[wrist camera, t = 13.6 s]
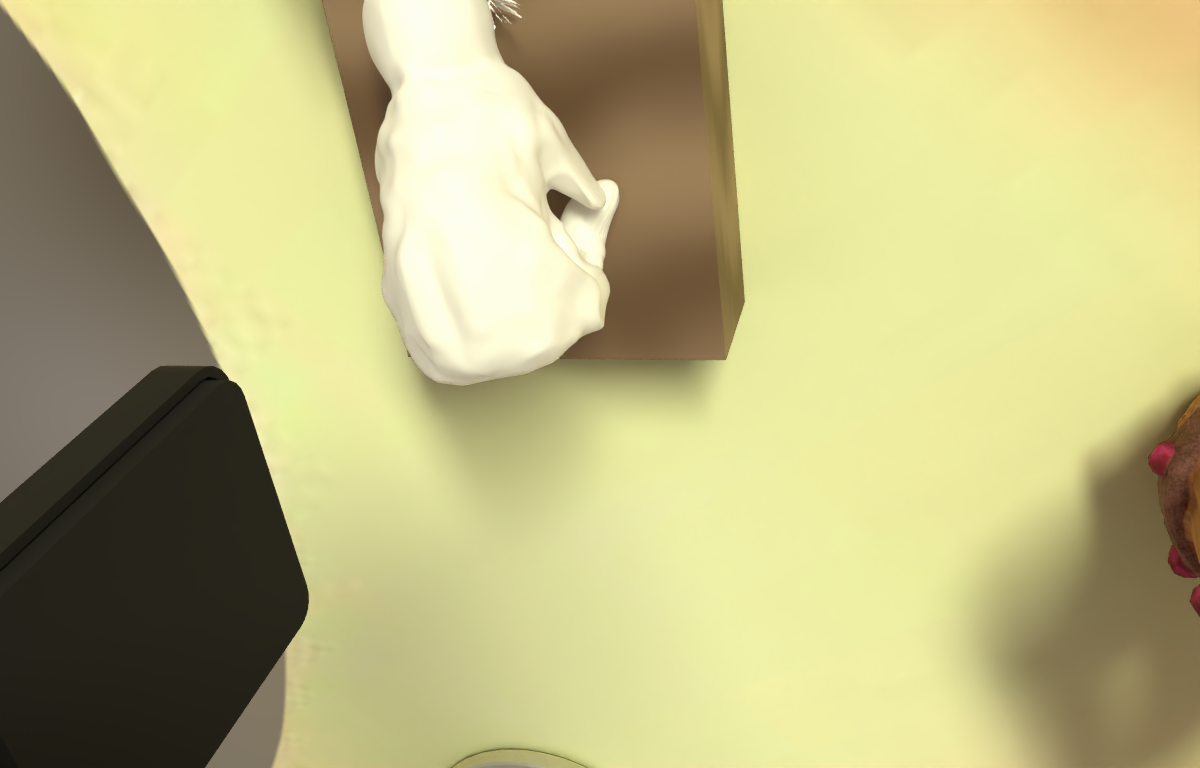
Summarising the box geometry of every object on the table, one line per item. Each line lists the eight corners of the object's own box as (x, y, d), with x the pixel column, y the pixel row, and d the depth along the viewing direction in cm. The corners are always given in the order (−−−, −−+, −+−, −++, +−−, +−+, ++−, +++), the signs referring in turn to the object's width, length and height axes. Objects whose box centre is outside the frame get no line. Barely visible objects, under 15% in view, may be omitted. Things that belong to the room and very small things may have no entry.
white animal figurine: (387, 428, 33) (210, 18, 29) (493, 319, 41) (364, -22, 37) (583, 390, 31) (420, -63, 27) (658, 281, 38) (539, -88, 34)
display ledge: (744, 301, 43) (711, 405, 37) (451, 302, 47) (375, 398, 40) (704, -236, 34) (651, -218, 28) (346, -187, 38) (228, -161, 32)
